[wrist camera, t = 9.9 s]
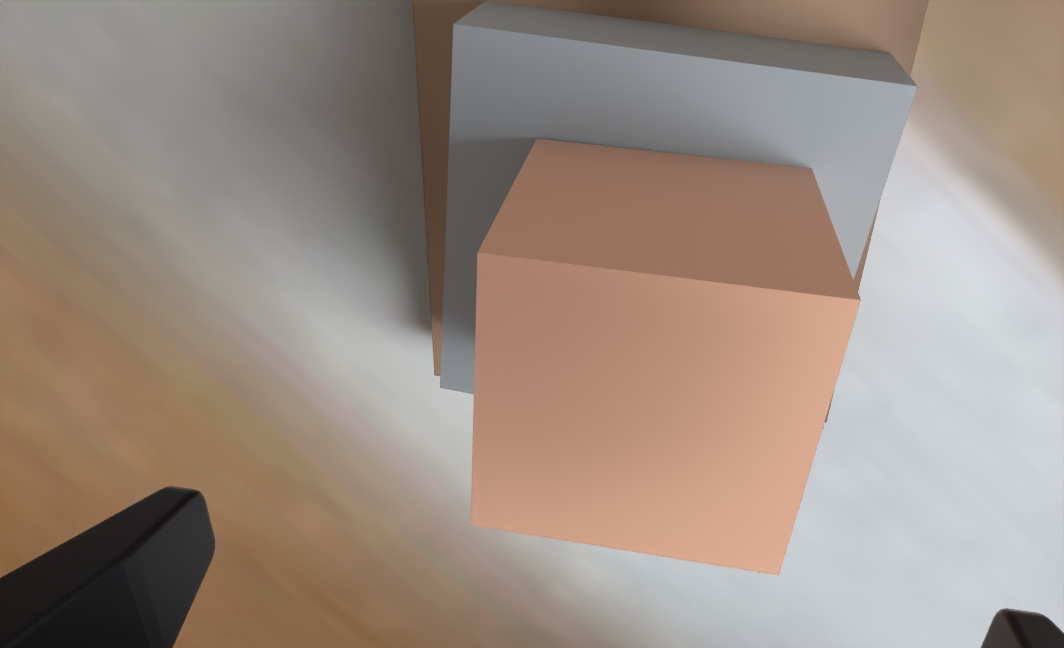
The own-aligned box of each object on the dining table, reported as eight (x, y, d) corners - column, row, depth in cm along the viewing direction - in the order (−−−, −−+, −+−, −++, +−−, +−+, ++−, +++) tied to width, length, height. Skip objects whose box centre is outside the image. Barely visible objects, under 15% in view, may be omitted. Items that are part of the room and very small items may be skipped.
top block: (890, 53, 16) (918, 86, 14) (787, 389, 20) (795, 454, 18) (486, 0, 17) (453, 23, 15) (467, 331, 21) (440, 387, 19)
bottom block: (905, -31, 17) (931, -12, 15) (815, 367, 22) (826, 422, 20) (445, -48, 19) (410, -33, 17) (459, 328, 24) (434, 375, 22)
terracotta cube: (811, 168, 15) (860, 299, 11) (757, 394, 17) (778, 575, 13) (536, 138, 15) (477, 252, 11) (522, 362, 18) (470, 524, 14)
